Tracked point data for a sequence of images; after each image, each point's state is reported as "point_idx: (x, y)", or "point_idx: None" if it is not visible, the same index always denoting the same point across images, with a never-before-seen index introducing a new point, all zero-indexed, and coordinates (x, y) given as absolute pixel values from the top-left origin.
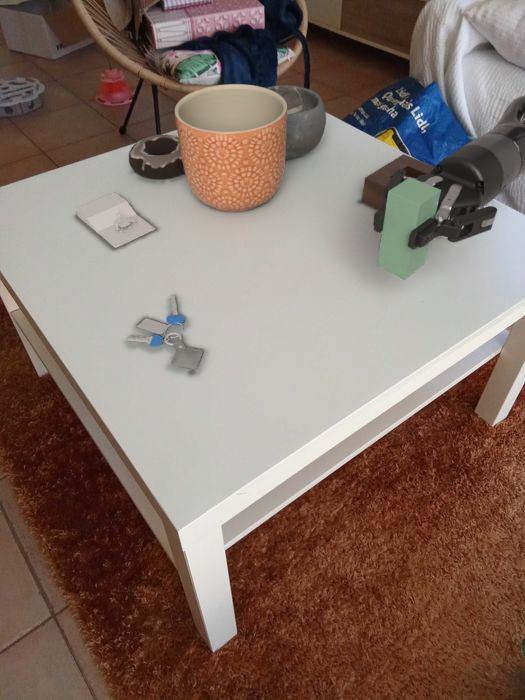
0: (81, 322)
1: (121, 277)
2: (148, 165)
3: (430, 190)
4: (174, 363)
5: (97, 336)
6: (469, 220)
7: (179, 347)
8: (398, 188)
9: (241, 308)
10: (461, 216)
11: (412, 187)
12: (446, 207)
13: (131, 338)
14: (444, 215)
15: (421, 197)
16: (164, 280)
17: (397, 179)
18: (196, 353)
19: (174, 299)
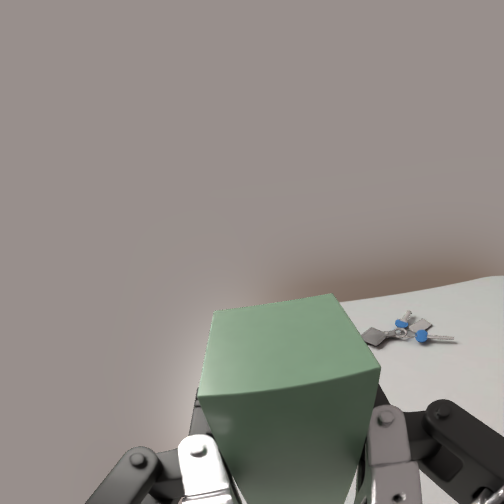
0: (437, 299)
1: (484, 317)
2: None
3: (232, 367)
4: (370, 328)
5: (421, 304)
6: (106, 478)
7: (386, 332)
8: (328, 312)
9: (424, 386)
10: (135, 485)
11: (302, 338)
12: (204, 496)
13: (407, 312)
14: (188, 461)
15: (231, 328)
16: (478, 339)
17: (498, 460)
18: (373, 340)
19: (448, 338)
